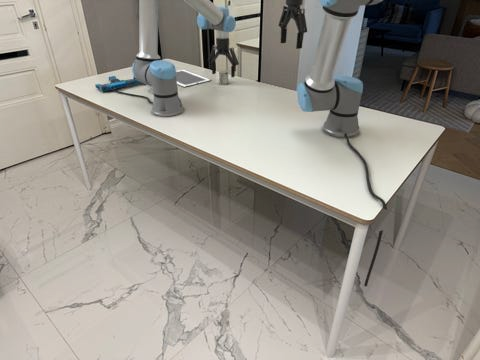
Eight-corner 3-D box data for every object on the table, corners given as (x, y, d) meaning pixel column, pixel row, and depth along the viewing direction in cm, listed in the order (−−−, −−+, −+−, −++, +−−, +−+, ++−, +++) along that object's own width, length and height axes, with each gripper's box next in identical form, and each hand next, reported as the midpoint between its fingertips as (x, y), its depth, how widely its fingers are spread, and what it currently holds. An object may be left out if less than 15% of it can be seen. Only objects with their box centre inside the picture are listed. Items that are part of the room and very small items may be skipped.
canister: (228, 82, 209) (227, 70, 206) (228, 84, 205) (228, 72, 201) (219, 82, 209) (219, 70, 205) (219, 85, 205) (219, 72, 201)
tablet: (157, 75, 221) (157, 74, 221) (183, 69, 232) (183, 69, 232) (184, 87, 201) (183, 86, 200) (211, 80, 212) (211, 79, 211)
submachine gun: (140, 69, 223) (158, 75, 206) (141, 75, 225) (159, 81, 208) (87, 79, 204) (103, 87, 188) (89, 85, 206) (105, 94, 190)
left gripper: (244, 38, 190) (244, 76, 202) (208, 34, 201) (209, 70, 212) (238, 41, 185) (237, 80, 196) (200, 36, 195) (202, 73, 207)
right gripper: (272, -7, 158) (270, 41, 169) (304, -3, 139) (299, 51, 151) (286, -8, 161) (283, 40, 172) (318, -3, 142) (313, 50, 153)
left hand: (223, 75), depth 204 cm, fingers open, 13 cm apart
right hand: (290, 45), depth 161 cm, fingers open, 13 cm apart
